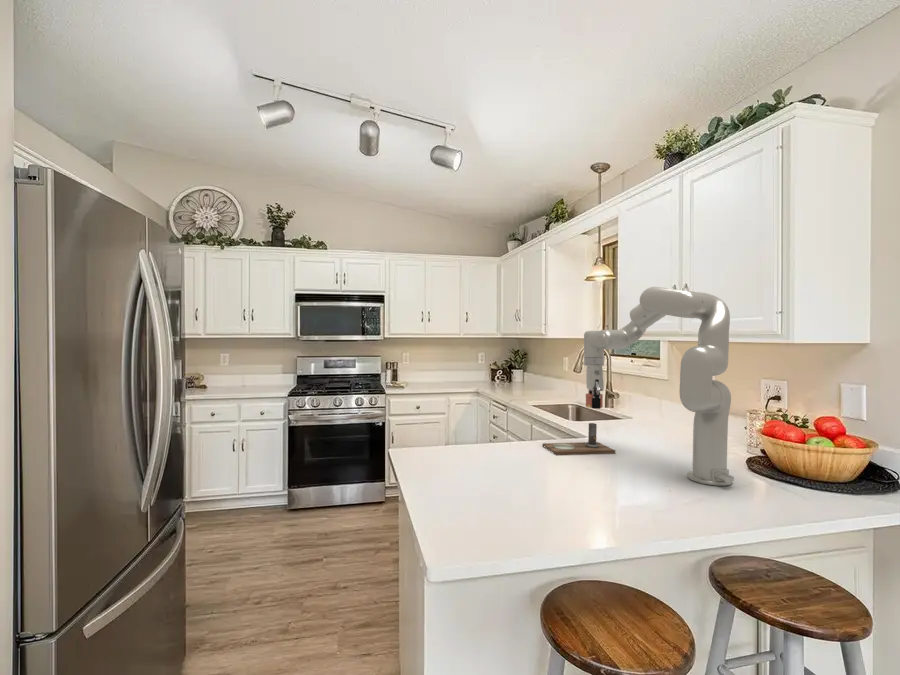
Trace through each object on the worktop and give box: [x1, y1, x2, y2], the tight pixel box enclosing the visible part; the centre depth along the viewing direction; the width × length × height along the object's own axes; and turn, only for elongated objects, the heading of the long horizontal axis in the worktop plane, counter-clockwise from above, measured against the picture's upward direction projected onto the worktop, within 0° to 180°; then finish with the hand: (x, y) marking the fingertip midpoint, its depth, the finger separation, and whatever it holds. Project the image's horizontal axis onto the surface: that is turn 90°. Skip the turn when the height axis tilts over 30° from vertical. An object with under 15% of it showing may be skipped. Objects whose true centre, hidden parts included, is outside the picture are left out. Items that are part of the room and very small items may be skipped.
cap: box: [585, 393, 604, 409], centre depth 184 cm, size 8×6×5 cm
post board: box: [542, 422, 616, 456], centre depth 183 cm, size 14×24×10 cm, turn 100°
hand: (594, 406), depth 184 cm, fingers closed on cap, 6 cm apart
